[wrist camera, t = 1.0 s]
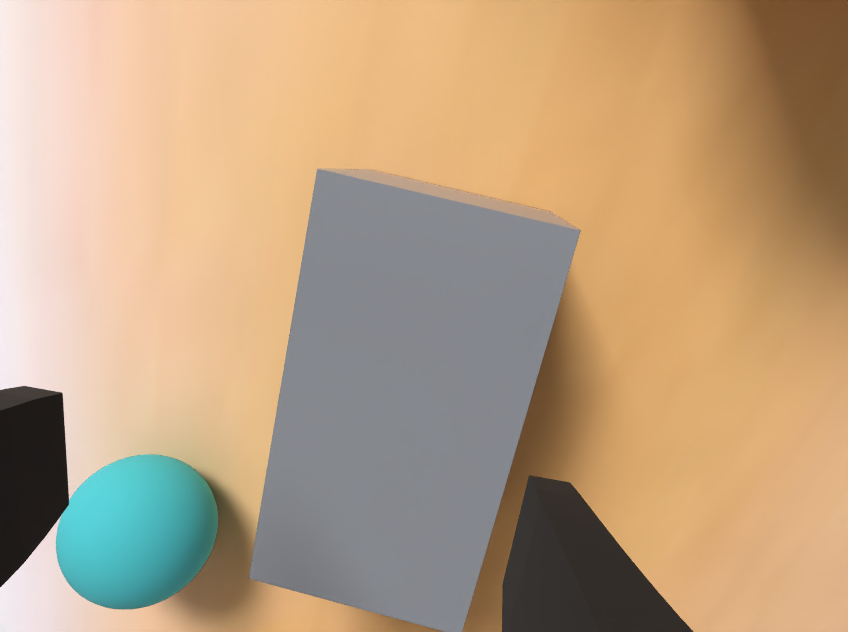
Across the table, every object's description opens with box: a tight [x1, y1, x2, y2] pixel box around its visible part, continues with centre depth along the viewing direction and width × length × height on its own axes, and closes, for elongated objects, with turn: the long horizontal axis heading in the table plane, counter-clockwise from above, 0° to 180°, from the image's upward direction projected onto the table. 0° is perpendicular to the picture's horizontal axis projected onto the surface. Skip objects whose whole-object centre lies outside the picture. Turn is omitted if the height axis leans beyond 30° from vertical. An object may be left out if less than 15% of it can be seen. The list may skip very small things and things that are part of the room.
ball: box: [56, 454, 218, 609], centre depth 20 cm, size 5×5×5 cm
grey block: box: [249, 169, 581, 632], centre depth 17 cm, size 11×6×6 cm, turn 167°
